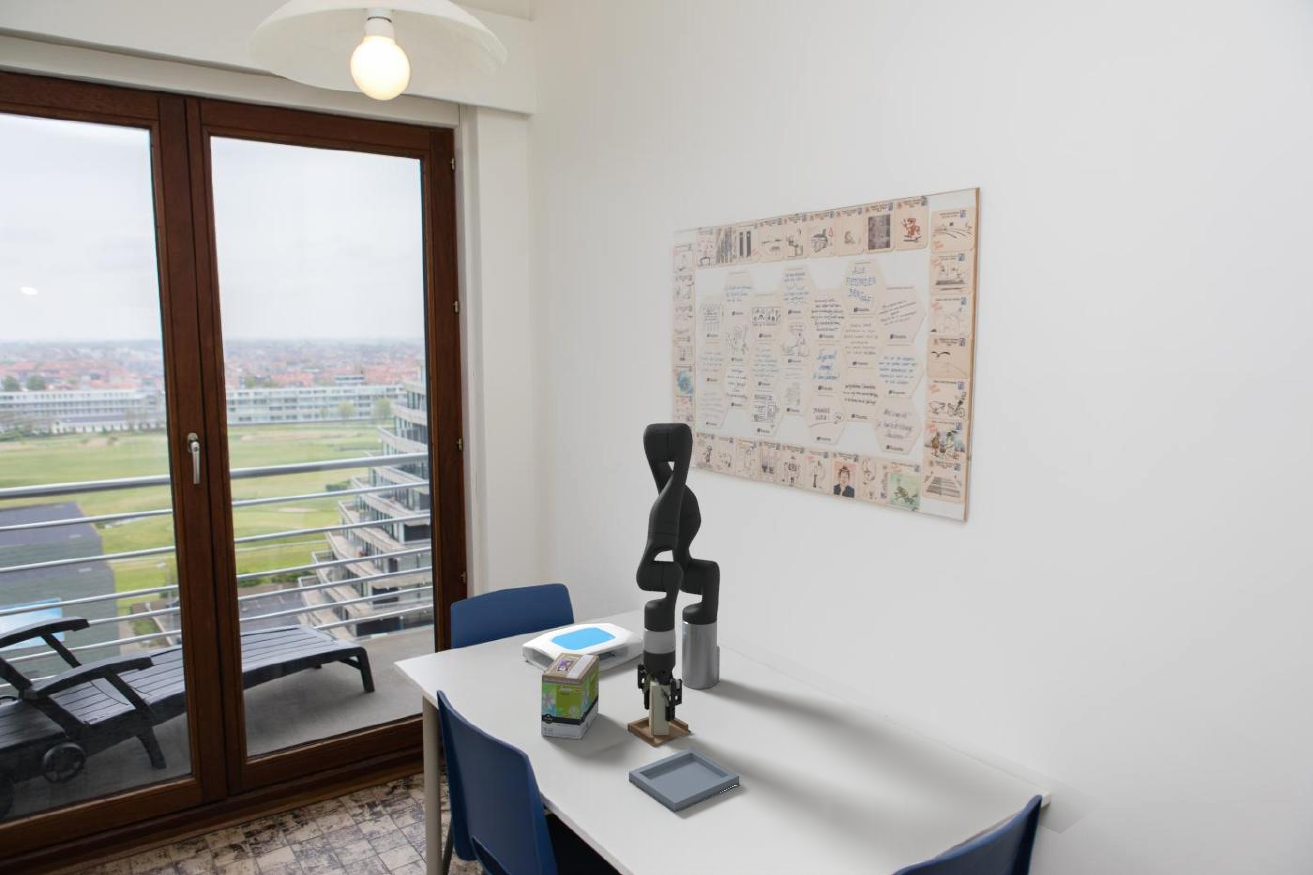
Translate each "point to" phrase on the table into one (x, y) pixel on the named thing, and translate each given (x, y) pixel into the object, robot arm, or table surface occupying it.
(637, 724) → the holder
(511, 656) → the table surface
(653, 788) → the tray
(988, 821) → the table surface
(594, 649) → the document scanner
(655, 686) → the skincare box
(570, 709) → the tea box
